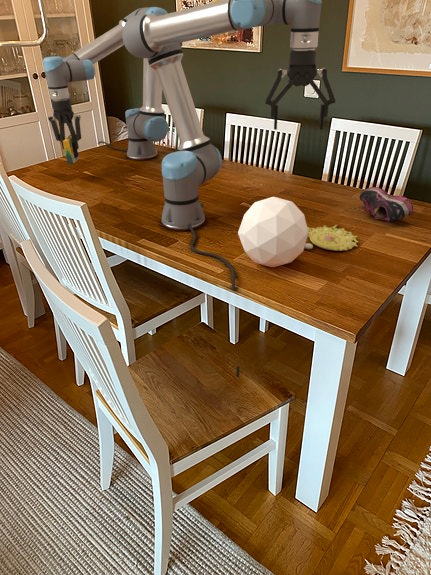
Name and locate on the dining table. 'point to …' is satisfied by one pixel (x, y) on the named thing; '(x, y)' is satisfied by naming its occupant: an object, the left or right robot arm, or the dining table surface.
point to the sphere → (273, 232)
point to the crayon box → (69, 150)
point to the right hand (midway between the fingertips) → (297, 128)
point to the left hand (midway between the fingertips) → (72, 156)
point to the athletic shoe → (385, 204)
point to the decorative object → (331, 238)
